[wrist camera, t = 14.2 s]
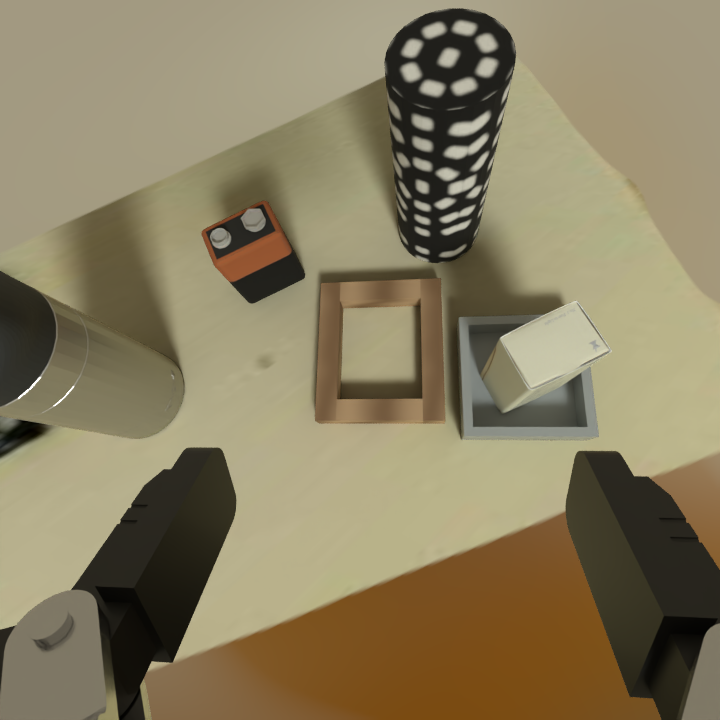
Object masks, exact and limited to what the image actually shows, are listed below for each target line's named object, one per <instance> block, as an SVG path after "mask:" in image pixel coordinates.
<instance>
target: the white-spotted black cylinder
mask: <svg viewBox="0 0 720 720" xmlns="http://www.w3.org/2000/svg"><path fill="white" fill-rule="evenodd" d="M515 58H516V50H515V44H514V41H513V39H512V37H511V35H510V33H509V32H508V31H507V29H506V28H505V27H504V26H503V25H502V24H501V23H500V22H498V21H497V20H496V19H494V18H492V17H490V16H488V15H487V14H484V13H481V12H478V11H475V10H469V9H444V10H438V11H435V12H431V13H428V14H425V15H423V16H421V17H419V18H417V19H414V20H413V21H412V22H410V23H409V24H407V25H406V26H404V27H403V29H401V30H400V31H399V32H398V33H397V34H396V36H395V37H394V38H393V40H392V41H391V43H390V45H389V47H388V50H387V52H386V57H385V76H386V88H387V99H388V111H389V122H390V133H391V145H392V156H393V167H394V179H395V190H396V202H397V213H398V224H399V235H400V239H401V242H402V243H403V245H404V247H405V248H406V249H407V251H408V252H409V253H410V254H412V255H413V256H414V257H416V258H418V259H420V260H422V261H426V262H431V263H444V262H448V261H452V260H455V259H457V258H459V257H461V256H462V255H463V254H465V253H466V252H467V251H468V250H469V249H470V248H471V247H472V245H473V243H474V242H475V240H476V237H477V234H478V229H479V225H480V220H481V215H482V211H483V206H484V202H485V197H486V193H487V188H488V184H489V179H490V175H491V170H492V166H493V161H494V156H495V152H496V147H497V143H498V138H499V134H500V129H501V125H502V120H503V116H504V111H505V106H506V102H507V97H508V93H509V88H510V84H511V79H512V75H513V70H514V66H515Z"/></svg>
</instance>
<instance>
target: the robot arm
mask: <svg viewBox="0 0 720 720" xmlns="http://www.w3.org/2000/svg"><path fill="white" fill-rule="evenodd" d="M183 395H184V383H183V377H182V374H181V372H180V370H179V368H178V367H177V365H176V364H175V363H174V362H173V361H172V360H171V359H169V358H168V357H166V356H165V355H163V354H161V353H159V352H157V351H155V350H153V349H151V348H149V347H147V346H145V345H144V344H142V343H140V342H138V341H136V340H134V339H132V338H130V337H128V336H126V335H124V334H122V333H120V332H118V331H116V330H114V329H112V328H110V327H109V326H107V325H105V324H103V323H101V322H99V321H97V320H95V319H93V318H91V317H89V316H87V315H85V314H83V313H81V312H79V311H77V310H75V309H73V308H71V307H70V306H68V305H66V304H63V303H61V302H59V301H57V300H55V299H54V298H52V297H50V296H48V295H46V294H44V293H42V292H40V291H38V290H36V289H34V288H32V287H30V286H28V285H26V284H24V283H22V282H20V281H18V280H16V279H14V278H12V277H10V276H9V275H7V274H5V273H3V272H1V271H0V416H1V417H7V418H14V419H20V420H26V421H32V422H38V423H43V424H49V425H55V426H61V427H67V428H73V429H79V430H85V431H91V432H97V433H102V434H107V435H113V436H119V437H125V438H134V439H140V438H145V437H149V436H151V435H154V434H156V433H158V432H159V431H161V430H162V429H164V428H165V427H166V426H167V425H168V424H169V423H170V422H171V421H172V420H173V418H174V417H175V415H176V414H177V412H178V410H179V408H180V406H181V404H182V399H183ZM131 505H132V506H131V508H128V510H127V511H126V513H125V514H124V515H123V517H122V518H121V522H120V524H117V526H116V527H115V528H114V530H113V531H112V533H111V534H110V536H109V537H108V538H107V540H106V541H105V543H104V544H103V546H102V547H101V548H100V550H99V551H98V553H97V554H96V556H95V557H94V558H93V560H92V561H91V563H90V564H89V566H88V567H87V569H86V570H85V571H84V573H83V574H82V576H81V577H80V579H79V580H78V581H77V583H76V584H75V586H74V587H73V588H72V589H71V590H70V591H65V592H62V593H59V594H56V595H54V596H52V597H50V598H48V599H46V600H44V601H43V602H41V603H40V604H38V605H37V606H35V607H34V608H33V609H32V610H30V611H29V612H28V613H27V614H26V615H25V616H24V617H23V618H22V619H21V620H20V621H19V622H18V624H17V625H16V626H13V627H9V628H5V629H1V630H0V720H152V719H151V713H150V708H149V702H148V696H147V690H146V685H145V682H144V680H143V679H144V677H145V674H146V672H147V670H148V668H149V666H150V664H151V662H152V661H155V662H170V663H173V660H174V658H175V656H176V653H177V651H178V649H179V646H180V644H181V642H182V639H183V637H184V635H185V632H186V630H187V628H188V625H189V623H190V621H191V618H192V616H193V614H194V611H195V609H196V607H197V604H198V602H199V600H200V597H201V595H202V593H203V590H204V588H205V585H206V583H207V581H208V578H209V576H210V574H211V571H212V569H213V567H214V564H215V562H216V560H217V557H218V555H219V553H220V550H221V548H222V546H223V543H224V541H225V539H226V536H227V534H228V532H229V529H230V527H231V525H232V522H233V520H234V516H235V511H236V494H235V490H234V487H233V484H232V480H231V477H230V473H229V470H228V467H227V463H226V460H225V456H224V453H223V451H222V450H221V449H220V448H186V449H185V450H184V451H183V452H182V454H181V455H180V457H179V458H178V460H177V461H176V463H175V464H174V466H173V467H172V469H164V470H163V471H161V472H160V473H159V474H158V475H157V476H155V477H154V478H153V479H152V480H150V481H149V482H148V483H147V484H146V485H144V487H143V488H142V490H141V491H140V493H139V494H138V495H137V497H136V498H135V500H134V501H133V503H132V504H131ZM566 519H567V525H568V528H569V532H570V535H571V538H572V540H573V543H574V546H575V548H576V551H577V553H578V556H579V559H580V562H581V565H582V568H583V570H584V573H585V576H586V579H587V581H588V584H589V587H590V589H591V592H592V595H593V598H594V600H595V603H596V606H597V609H598V611H599V614H600V617H601V619H602V622H603V625H604V628H605V630H606V633H607V636H608V638H609V641H610V644H611V647H612V649H613V652H614V655H615V658H616V660H617V663H618V666H619V669H620V671H621V674H622V677H623V680H624V682H625V685H626V688H627V691H628V693H629V696H630V697H640V698H653V699H654V702H655V704H656V707H657V709H658V712H659V714H660V717H661V720H720V570H719V568H718V567H717V565H716V564H715V562H714V560H713V559H712V558H711V556H710V555H709V553H708V551H707V550H706V548H705V547H704V545H703V544H702V543H700V542H699V540H698V536H697V535H696V533H695V532H694V530H693V529H692V527H691V526H690V524H689V523H686V518H685V516H684V515H683V513H682V512H681V510H680V509H679V507H678V506H677V504H676V503H675V502H674V500H673V498H672V497H671V495H669V494H668V493H667V492H665V491H664V490H663V489H662V488H661V487H660V486H658V485H657V484H656V483H655V482H654V481H652V480H651V479H650V478H649V477H640V476H633V474H632V472H631V471H630V469H629V467H628V466H627V464H626V462H625V460H624V459H623V457H622V456H621V454H620V453H618V452H617V451H578V452H577V454H576V456H575V459H574V464H573V469H572V474H571V479H570V484H569V489H568V494H567V499H566Z"/></svg>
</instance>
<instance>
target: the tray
mask: <svg viewBox="0 0 720 720" xmlns="http://www.w3.org/2000/svg"><path fill="white" fill-rule="evenodd" d="M543 315H545V314H543ZM543 315H510V316H476V317H459V319H458V324H457V350H458V373H459V397H460V421H461V440H589V439H593V438H596V437H599V433H598V425H597V417H596V409H595V401H594V393H593V384H592V376H591V368H590V367H589V368H587V369H586V370H584V371H583V372H581V373H580V374H578V375H577V376H575V377H574V378H572V379H571V380H569V381H568V382H566V383H565V384H563V385H562V386H561V387H559V388H557V389H555V390H553V391H551V392H549V393H547V394H545V395H543V396H541V397H539V398H537V399H535V400H533V401H530V402H528V403H526V404H524V405H522V406H520V407H517V408H515V409H513V410H511V411H508V412H506V413H504V414H502V413H500V411H499V410H498V408H497V406H496V404H495V403H494V401H493V399H492V397H491V395H490V394H489V392H488V390H487V388H486V386H485V384H484V382H483V380H482V379H481V377H480V374H481V372H482V370H483V368H484V366H485V365H486V363H487V361H488V359H489V357H490V355H491V354H492V352H493V350H494V348H495V346H496V344H497V342H498V341H499V339H500V337H502V336H504V335H505V334H507V333H509V332H511V331H513V330H515V329H517V328H519V327H521V326H523V325H525V324H527V323H529V322H531V321H533V320H535V319H537V318H539V317H541V316H543Z"/></svg>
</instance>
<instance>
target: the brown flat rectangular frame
mask: <svg viewBox="0 0 720 720" xmlns="http://www.w3.org/2000/svg"><path fill="white" fill-rule="evenodd" d="M395 306H421V350H422V399H341V366H342V332H343V308H365V307H395ZM315 421H317V422H318V423H445V393H444V362H443V332H442V301H441V278H434V279H410V280H385V281H361V282H336V283H321V297H320V320H319V342H318V364H317V386H316V409H315Z"/></svg>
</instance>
